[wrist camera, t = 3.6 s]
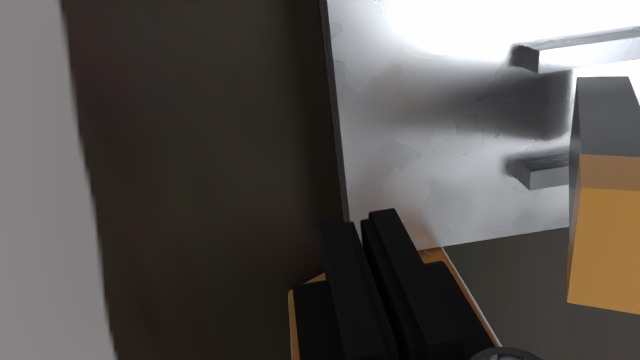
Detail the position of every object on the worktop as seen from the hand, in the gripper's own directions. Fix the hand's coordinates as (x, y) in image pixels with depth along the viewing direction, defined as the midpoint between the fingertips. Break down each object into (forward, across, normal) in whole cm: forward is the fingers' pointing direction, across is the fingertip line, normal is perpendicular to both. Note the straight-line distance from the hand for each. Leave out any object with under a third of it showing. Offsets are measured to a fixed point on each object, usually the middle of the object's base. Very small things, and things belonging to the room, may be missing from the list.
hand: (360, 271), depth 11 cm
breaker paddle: (+8, -10, 0) cm, 13 cm away
